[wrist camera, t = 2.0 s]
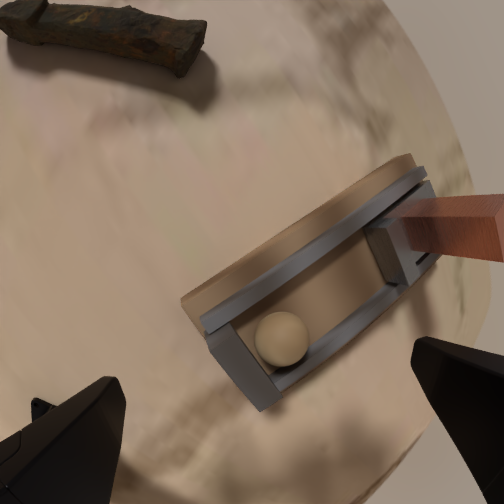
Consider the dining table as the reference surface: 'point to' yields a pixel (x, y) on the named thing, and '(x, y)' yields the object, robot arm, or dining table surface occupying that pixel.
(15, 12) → the dark brown bar
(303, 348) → the nut
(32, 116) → the dining table surface
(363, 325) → the ball pusher game
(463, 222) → the lever
